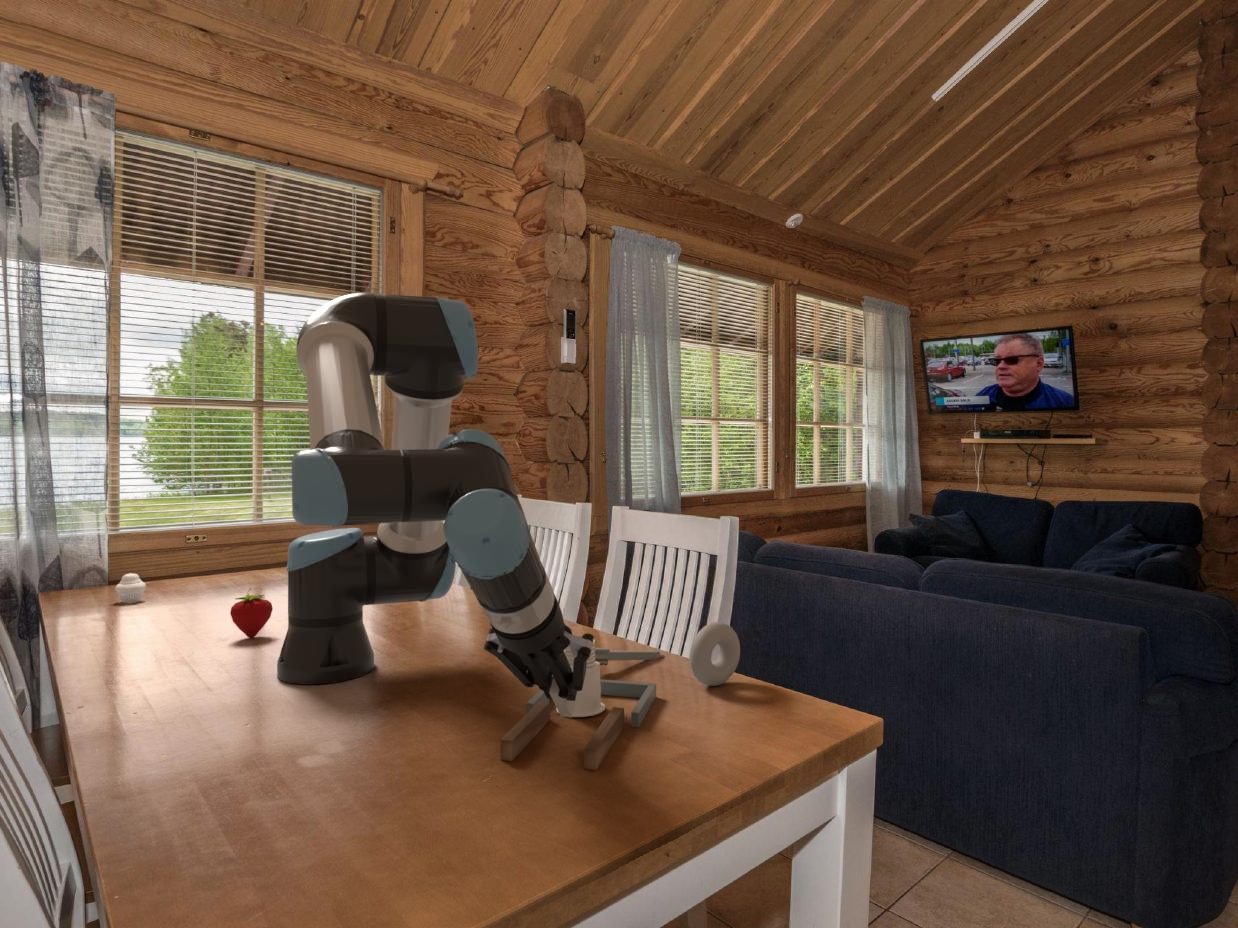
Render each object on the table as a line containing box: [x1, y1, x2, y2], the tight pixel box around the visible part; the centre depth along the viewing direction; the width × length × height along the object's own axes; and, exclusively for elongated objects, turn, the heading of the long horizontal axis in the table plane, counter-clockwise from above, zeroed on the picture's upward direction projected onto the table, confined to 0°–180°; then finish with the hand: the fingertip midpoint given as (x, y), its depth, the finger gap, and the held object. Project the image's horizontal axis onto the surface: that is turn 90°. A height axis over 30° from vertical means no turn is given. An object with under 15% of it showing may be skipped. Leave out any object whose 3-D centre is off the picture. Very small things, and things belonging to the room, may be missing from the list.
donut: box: [689, 621, 741, 687], centre depth 119 cm, size 10×4×10 cm, turn 129°
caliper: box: [595, 647, 665, 666], centre depth 129 cm, size 20×1×6 cm, turn 132°
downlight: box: [555, 639, 606, 718], centre depth 109 cm, size 8×7×10 cm
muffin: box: [114, 572, 147, 604], centre depth 180 cm, size 6×6×7 cm
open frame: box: [525, 678, 657, 729], centre depth 110 cm, size 16×12×2 cm
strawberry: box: [230, 587, 273, 639], centre depth 148 cm, size 6×8×10 cm
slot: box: [500, 701, 625, 771], centre depth 97 cm, size 12×14×2 cm
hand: (568, 706), depth 98 cm, fingers closed
